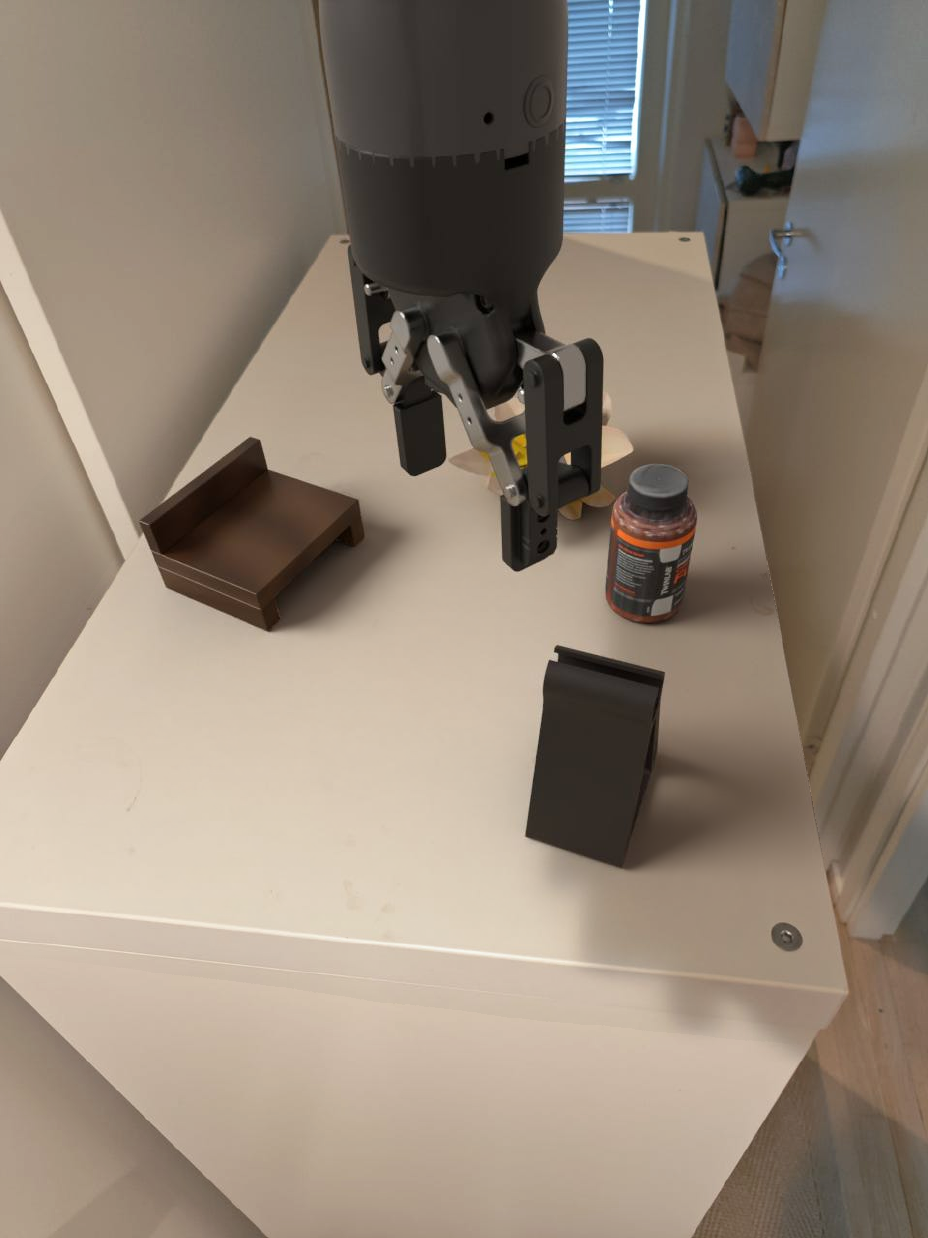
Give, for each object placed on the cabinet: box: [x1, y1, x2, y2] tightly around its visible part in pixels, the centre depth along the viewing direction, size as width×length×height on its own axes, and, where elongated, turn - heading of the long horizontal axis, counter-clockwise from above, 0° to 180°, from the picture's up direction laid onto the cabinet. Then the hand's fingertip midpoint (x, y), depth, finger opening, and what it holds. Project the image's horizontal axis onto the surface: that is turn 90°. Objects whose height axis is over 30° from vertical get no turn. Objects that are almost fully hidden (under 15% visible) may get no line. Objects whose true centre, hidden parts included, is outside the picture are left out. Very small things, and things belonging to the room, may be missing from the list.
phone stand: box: [524, 644, 666, 869], centre depth 49 cm, size 9×6×12 cm, turn 157°
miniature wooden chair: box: [138, 436, 366, 632], centre depth 69 cm, size 13×11×7 cm
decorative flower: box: [447, 390, 634, 521], centre depth 73 cm, size 15×11×10 cm
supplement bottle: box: [604, 463, 698, 624], centre depth 62 cm, size 6×6×11 cm
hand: (473, 511), depth 39 cm, fingers open, 8 cm apart
